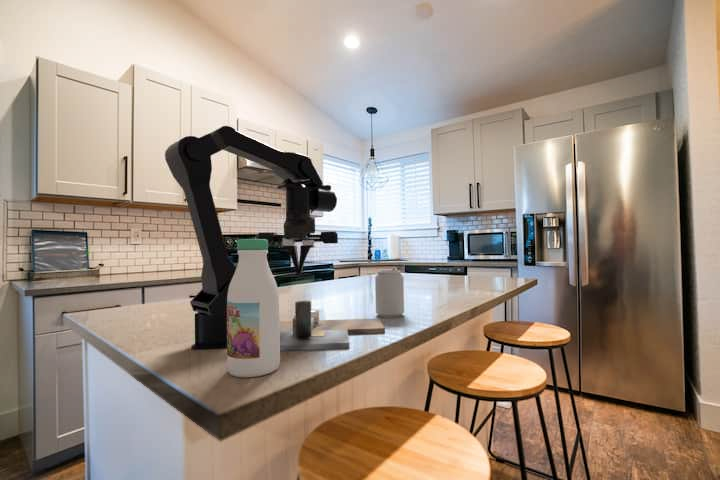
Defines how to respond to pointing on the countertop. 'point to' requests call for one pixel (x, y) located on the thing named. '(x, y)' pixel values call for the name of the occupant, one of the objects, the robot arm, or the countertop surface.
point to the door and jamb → (327, 333)
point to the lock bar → (305, 318)
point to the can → (389, 293)
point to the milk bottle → (253, 313)
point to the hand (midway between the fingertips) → (299, 274)
